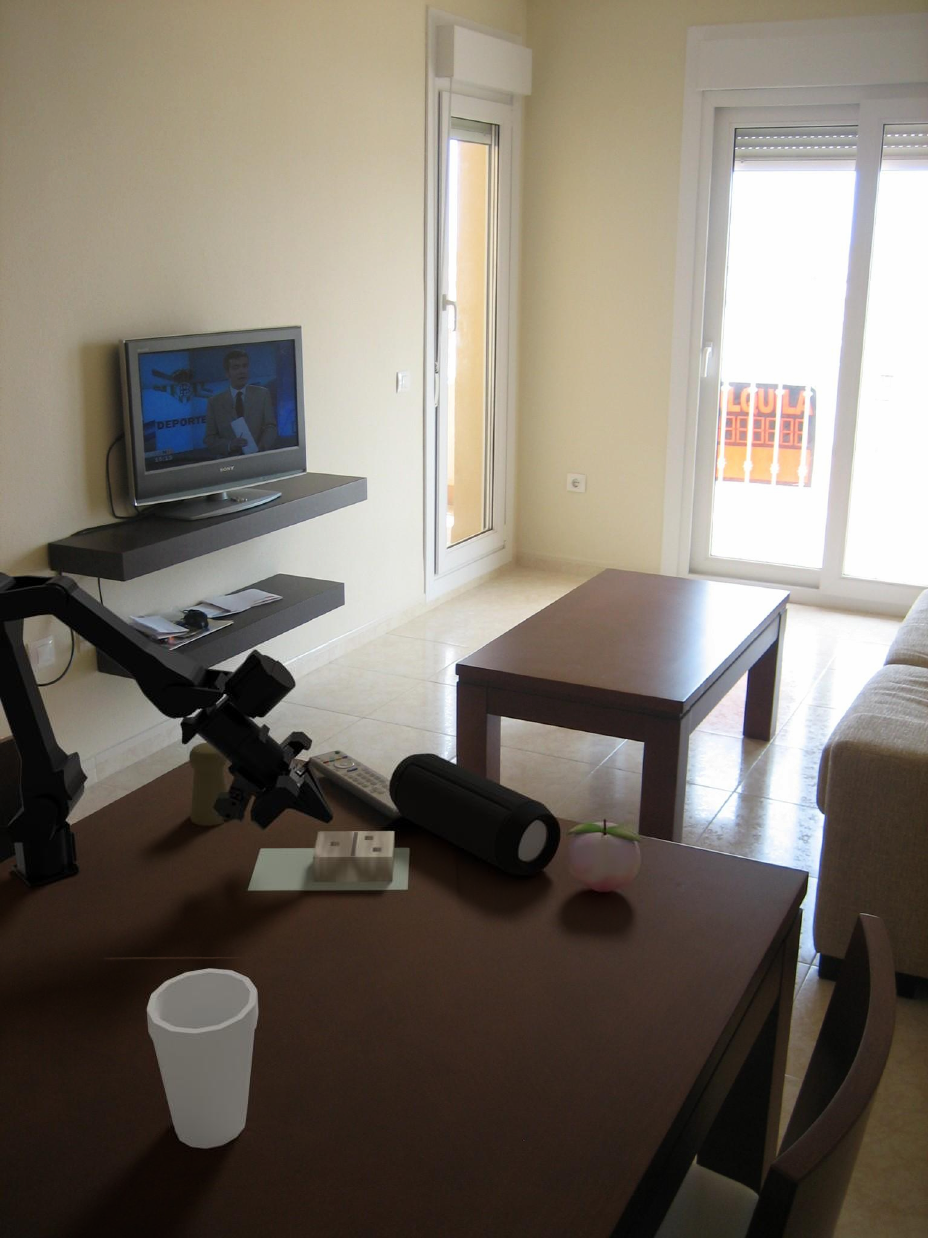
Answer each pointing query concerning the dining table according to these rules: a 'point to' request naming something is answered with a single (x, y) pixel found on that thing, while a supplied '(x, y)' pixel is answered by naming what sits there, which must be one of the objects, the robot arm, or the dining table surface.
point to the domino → (354, 856)
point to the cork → (206, 784)
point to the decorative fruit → (603, 855)
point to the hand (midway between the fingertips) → (330, 820)
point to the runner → (297, 872)
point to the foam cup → (205, 1051)
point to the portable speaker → (475, 813)
